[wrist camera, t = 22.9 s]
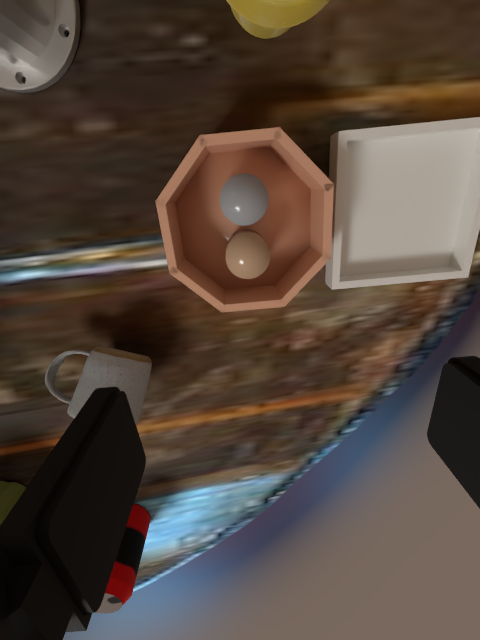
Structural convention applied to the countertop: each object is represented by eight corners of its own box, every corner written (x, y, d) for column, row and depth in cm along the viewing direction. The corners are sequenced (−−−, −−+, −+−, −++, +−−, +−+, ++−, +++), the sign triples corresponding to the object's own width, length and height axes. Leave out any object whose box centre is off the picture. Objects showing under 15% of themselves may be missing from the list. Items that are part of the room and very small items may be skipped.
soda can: (158, 522, 53) (139, 609, 42) (122, 532, 54) (94, 620, 43) (137, 497, 50) (109, 583, 39) (99, 508, 51) (62, 596, 40)
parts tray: (330, 135, 28) (338, 131, 26) (485, 120, 28) (507, 114, 26) (325, 282, 35) (331, 289, 32) (452, 271, 34) (467, 277, 32)
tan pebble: (224, 230, 31) (223, 236, 28) (265, 227, 31) (269, 232, 28) (228, 270, 33) (227, 280, 29) (267, 267, 33) (271, 276, 29)
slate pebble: (219, 177, 29) (217, 175, 26) (262, 172, 29) (266, 170, 25) (224, 223, 31) (222, 227, 27) (265, 219, 31) (269, 223, 27)
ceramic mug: (146, 353, 40) (164, 360, 33) (129, 413, 39) (144, 432, 32) (58, 334, 34) (59, 338, 28) (35, 404, 33) (31, 425, 27)
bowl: (158, 148, 29) (143, 140, 24) (318, 132, 28) (336, 120, 23) (185, 298, 35) (177, 316, 30) (315, 286, 35) (329, 303, 30)
